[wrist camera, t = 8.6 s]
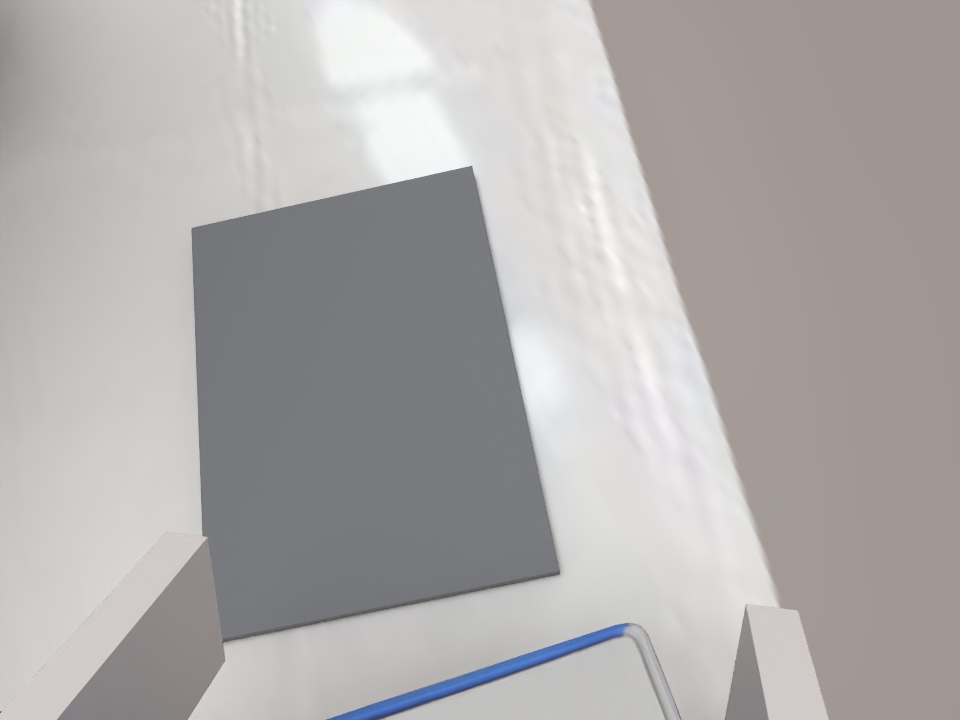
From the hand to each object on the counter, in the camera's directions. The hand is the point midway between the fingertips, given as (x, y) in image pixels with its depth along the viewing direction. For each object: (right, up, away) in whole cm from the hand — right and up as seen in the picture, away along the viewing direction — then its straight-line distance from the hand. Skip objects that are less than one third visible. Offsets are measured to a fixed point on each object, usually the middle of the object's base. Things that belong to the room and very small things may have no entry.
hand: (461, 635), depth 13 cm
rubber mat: (-5, +4, +20) cm, 20 cm away
